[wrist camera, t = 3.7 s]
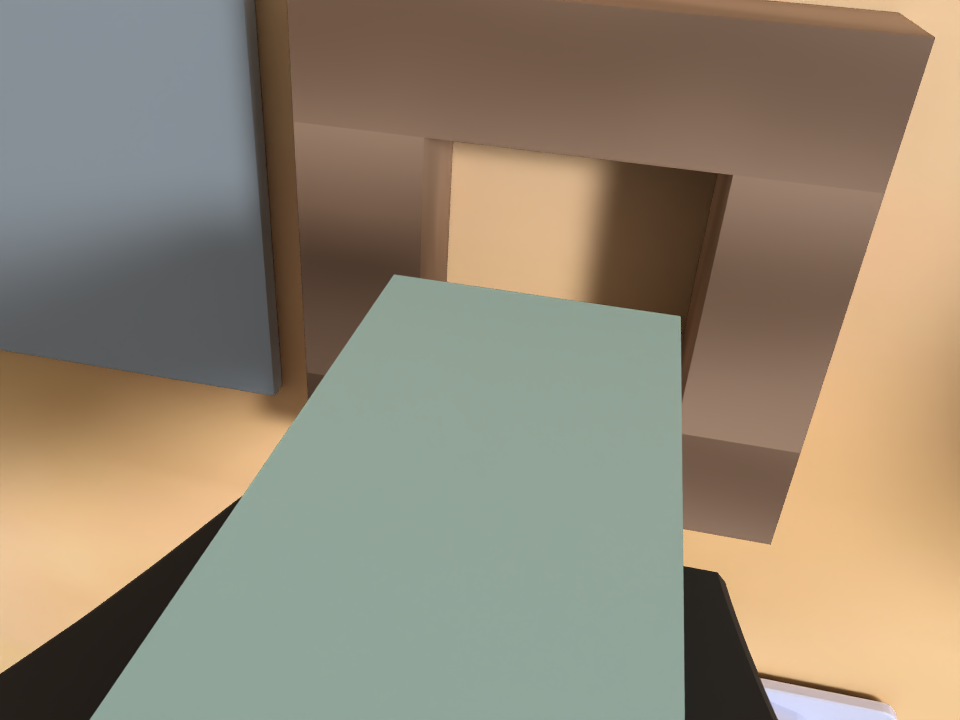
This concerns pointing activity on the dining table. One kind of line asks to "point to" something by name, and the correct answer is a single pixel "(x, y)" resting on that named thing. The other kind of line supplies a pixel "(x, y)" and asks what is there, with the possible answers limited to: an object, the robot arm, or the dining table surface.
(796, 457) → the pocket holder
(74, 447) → the dining table surface
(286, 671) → the teal block
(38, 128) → the rubber mat
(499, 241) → the dining table surface
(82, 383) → the dining table surface
